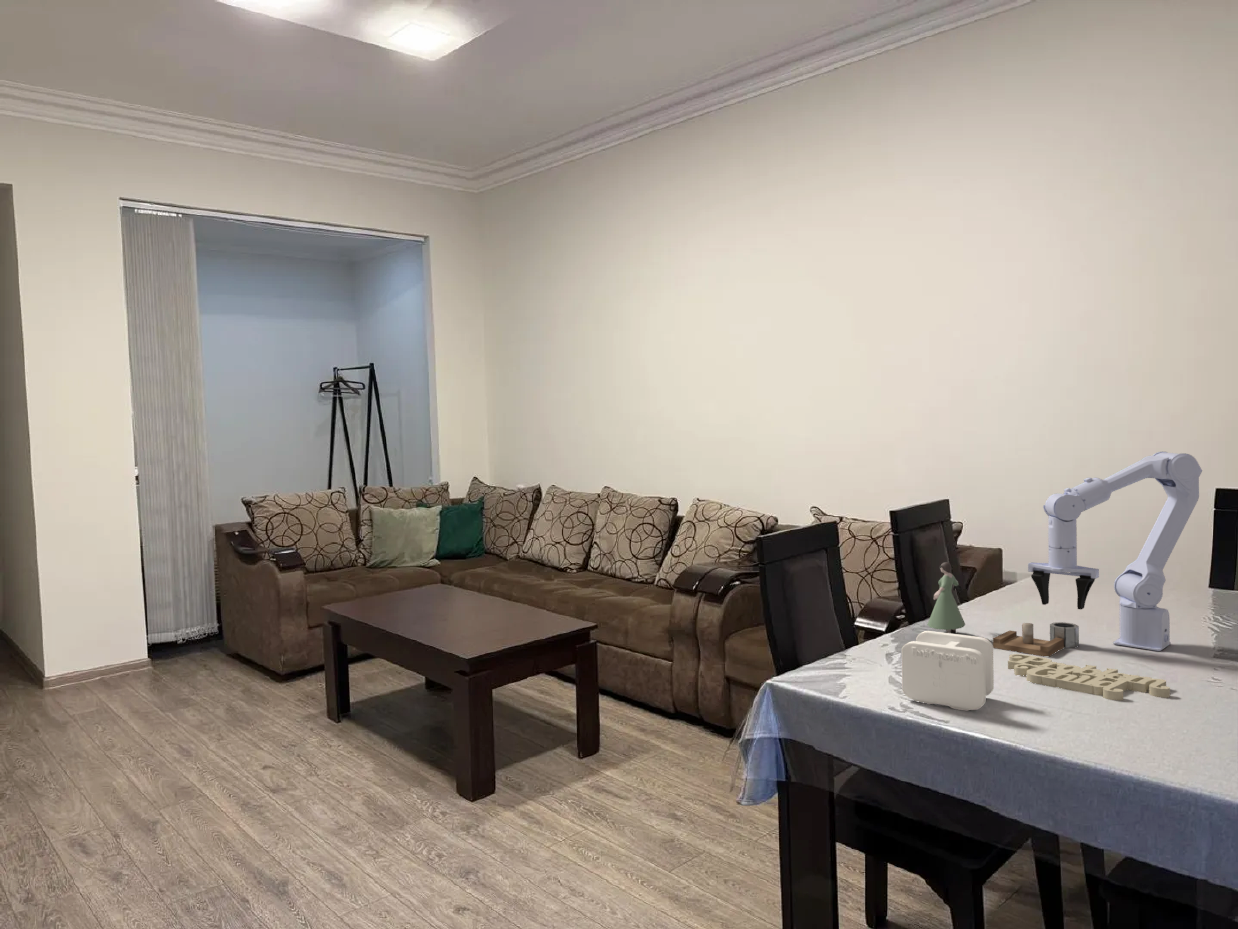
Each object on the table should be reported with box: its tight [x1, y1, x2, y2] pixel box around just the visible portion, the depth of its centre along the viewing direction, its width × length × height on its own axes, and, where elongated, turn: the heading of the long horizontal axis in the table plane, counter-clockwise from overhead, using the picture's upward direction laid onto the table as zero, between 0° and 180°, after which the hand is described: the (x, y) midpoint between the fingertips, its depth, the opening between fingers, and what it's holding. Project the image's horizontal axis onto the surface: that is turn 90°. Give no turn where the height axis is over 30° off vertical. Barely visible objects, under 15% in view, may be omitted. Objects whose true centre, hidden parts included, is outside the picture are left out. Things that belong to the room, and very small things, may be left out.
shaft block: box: [992, 622, 1065, 657], centre depth 197 cm, size 12×9×6 cm
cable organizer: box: [900, 630, 995, 712], centre depth 164 cm, size 15×11×12 cm
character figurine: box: [927, 561, 966, 634], centre depth 210 cm, size 16×8×18 cm, turn 136°
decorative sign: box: [1007, 653, 1171, 701], centre depth 172 cm, size 31×2×15 cm
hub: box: [1049, 621, 1080, 649], centre depth 198 cm, size 6×6×4 cm
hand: (1062, 606), depth 197 cm, fingers open, 7 cm apart
